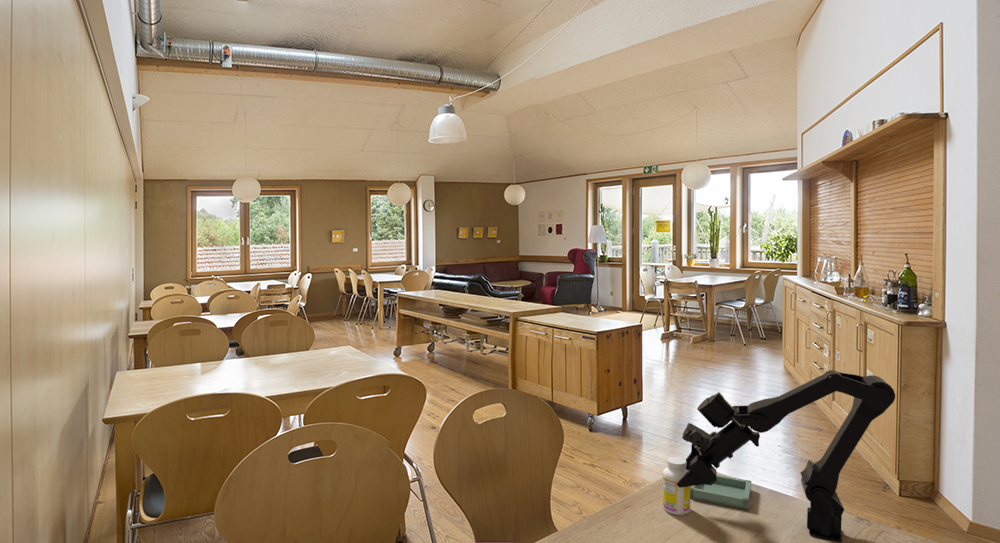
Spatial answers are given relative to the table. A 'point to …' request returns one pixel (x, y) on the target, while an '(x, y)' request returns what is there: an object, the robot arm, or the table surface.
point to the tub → (724, 492)
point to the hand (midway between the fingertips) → (678, 478)
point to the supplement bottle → (675, 487)
